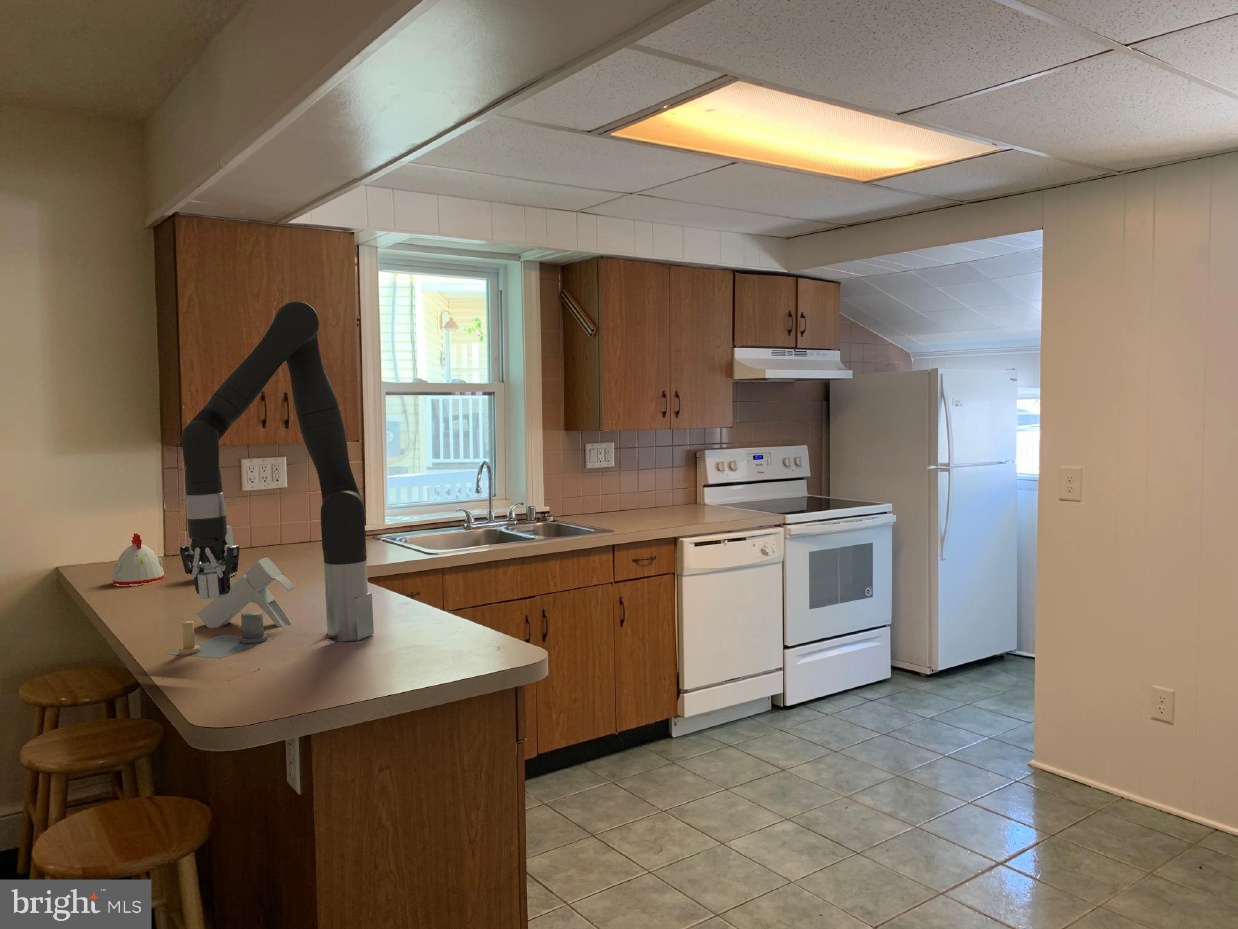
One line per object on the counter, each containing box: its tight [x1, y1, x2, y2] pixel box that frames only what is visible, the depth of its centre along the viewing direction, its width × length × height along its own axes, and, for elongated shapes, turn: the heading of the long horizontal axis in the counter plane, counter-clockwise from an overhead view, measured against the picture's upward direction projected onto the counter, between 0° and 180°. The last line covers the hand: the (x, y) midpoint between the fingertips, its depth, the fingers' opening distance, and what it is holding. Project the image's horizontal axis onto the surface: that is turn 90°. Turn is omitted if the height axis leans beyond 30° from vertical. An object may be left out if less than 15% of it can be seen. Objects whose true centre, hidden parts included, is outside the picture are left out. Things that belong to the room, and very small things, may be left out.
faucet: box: [196, 557, 295, 629], centre depth 214 cm, size 6×16×20 cm
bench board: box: [167, 611, 275, 659], centre depth 195 cm, size 14×16×8 cm
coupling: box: [197, 570, 227, 600], centre depth 194 cm, size 5×5×5 cm
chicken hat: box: [112, 533, 165, 585], centre depth 277 cm, size 14×14×15 cm
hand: (213, 593), depth 194 cm, fingers closed on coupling, 5 cm apart
